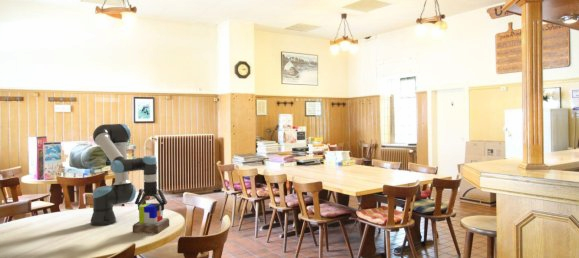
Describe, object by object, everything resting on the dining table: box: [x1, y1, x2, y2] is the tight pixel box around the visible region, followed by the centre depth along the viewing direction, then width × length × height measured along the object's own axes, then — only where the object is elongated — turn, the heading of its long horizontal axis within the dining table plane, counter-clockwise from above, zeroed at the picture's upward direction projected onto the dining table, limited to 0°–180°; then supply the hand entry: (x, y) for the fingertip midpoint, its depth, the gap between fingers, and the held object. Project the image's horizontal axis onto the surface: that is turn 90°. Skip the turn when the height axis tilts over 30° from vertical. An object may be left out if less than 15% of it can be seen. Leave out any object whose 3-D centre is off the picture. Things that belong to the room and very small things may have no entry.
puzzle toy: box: [138, 202, 164, 224], centre depth 247 cm, size 10×10×10 cm
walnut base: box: [132, 217, 170, 234], centre depth 247 cm, size 16×16×5 cm
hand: (151, 215), depth 247 cm, fingers open, 12 cm apart
